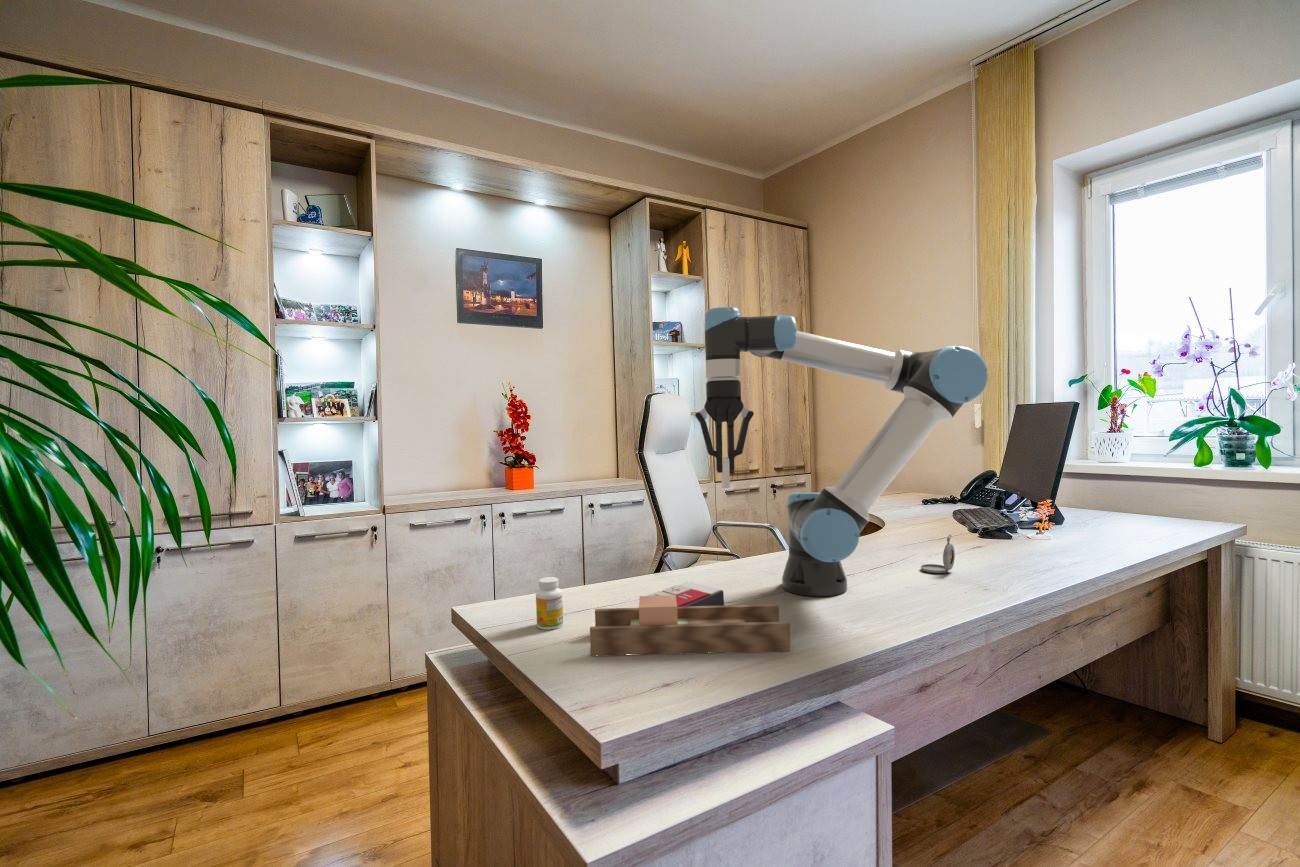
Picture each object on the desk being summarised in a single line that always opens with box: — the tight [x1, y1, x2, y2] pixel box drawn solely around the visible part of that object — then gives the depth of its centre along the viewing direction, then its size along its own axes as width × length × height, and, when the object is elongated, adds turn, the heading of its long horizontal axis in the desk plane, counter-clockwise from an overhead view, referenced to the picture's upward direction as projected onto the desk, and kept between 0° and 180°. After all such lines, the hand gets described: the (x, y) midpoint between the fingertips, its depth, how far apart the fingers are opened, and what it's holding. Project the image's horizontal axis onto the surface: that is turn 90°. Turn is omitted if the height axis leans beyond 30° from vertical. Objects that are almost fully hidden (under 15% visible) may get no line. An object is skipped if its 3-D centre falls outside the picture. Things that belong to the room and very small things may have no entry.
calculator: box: [647, 580, 725, 607], centre depth 142 cm, size 11×4×15 cm
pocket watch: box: [920, 534, 956, 574], centre depth 165 cm, size 8×8×10 cm
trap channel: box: [589, 603, 791, 657], centre depth 121 cm, size 36×11×5 cm, turn 90°
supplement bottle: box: [535, 576, 564, 631], centre depth 132 cm, size 5×5×10 cm
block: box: [638, 595, 678, 625], centre depth 121 cm, size 7×7×5 cm
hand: (725, 487), depth 141 cm, fingers closed
